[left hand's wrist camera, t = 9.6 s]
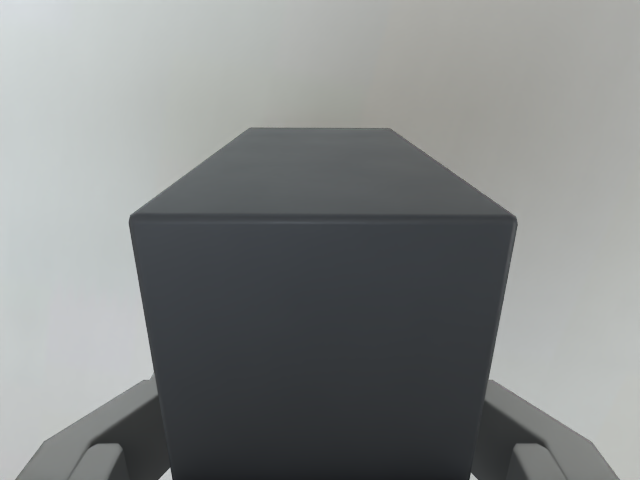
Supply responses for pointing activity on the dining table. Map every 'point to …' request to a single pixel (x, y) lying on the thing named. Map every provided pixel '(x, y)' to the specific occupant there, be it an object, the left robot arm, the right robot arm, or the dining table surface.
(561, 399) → the dining table surface
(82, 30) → the dining table surface
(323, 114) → the dining table surface
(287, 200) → the post
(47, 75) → the dining table surface
